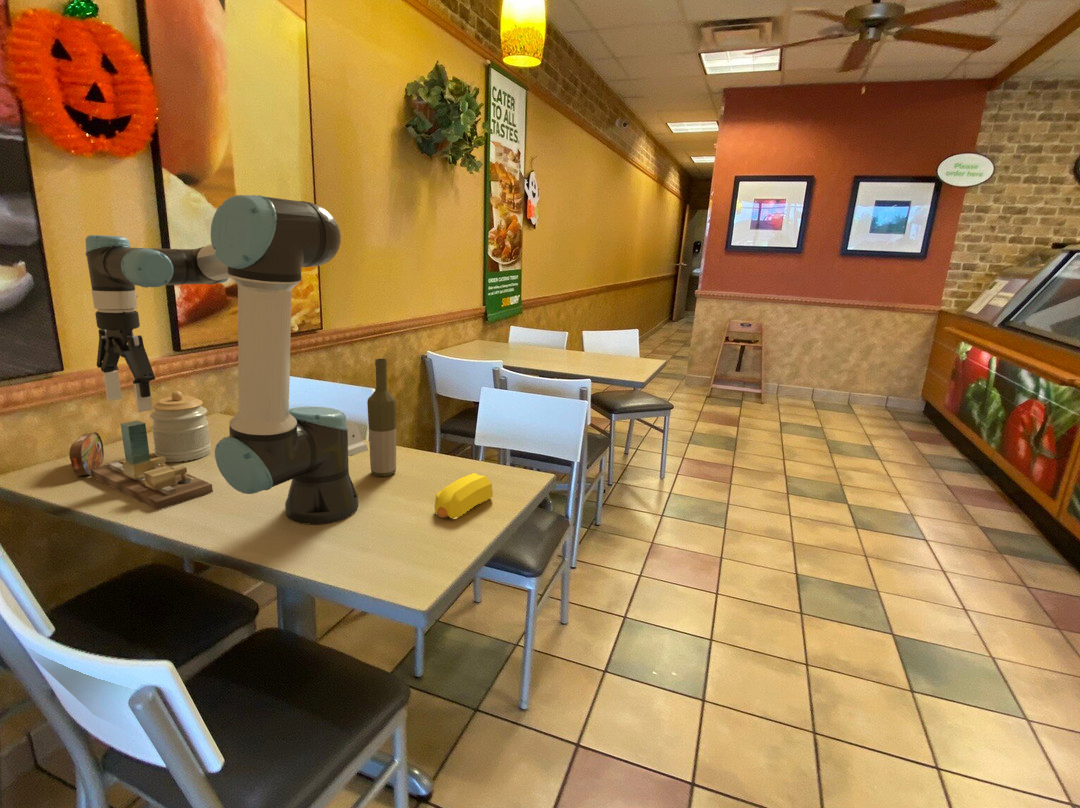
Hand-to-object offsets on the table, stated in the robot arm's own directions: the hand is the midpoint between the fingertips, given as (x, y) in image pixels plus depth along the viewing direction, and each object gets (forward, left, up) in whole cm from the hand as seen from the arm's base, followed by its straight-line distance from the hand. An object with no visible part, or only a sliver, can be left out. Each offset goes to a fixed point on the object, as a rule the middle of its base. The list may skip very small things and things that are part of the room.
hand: (129, 405), depth 129 cm
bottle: (-37, -40, -20) cm, 58 cm away
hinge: (-17, -42, -20) cm, 49 cm away
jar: (+14, -17, -20) cm, 30 cm away
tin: (+21, +2, -20) cm, 29 cm away
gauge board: (0, -2, -20) cm, 20 cm away
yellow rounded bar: (-66, -37, -20) cm, 79 cm away
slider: (0, -2, -17) cm, 17 cm away
